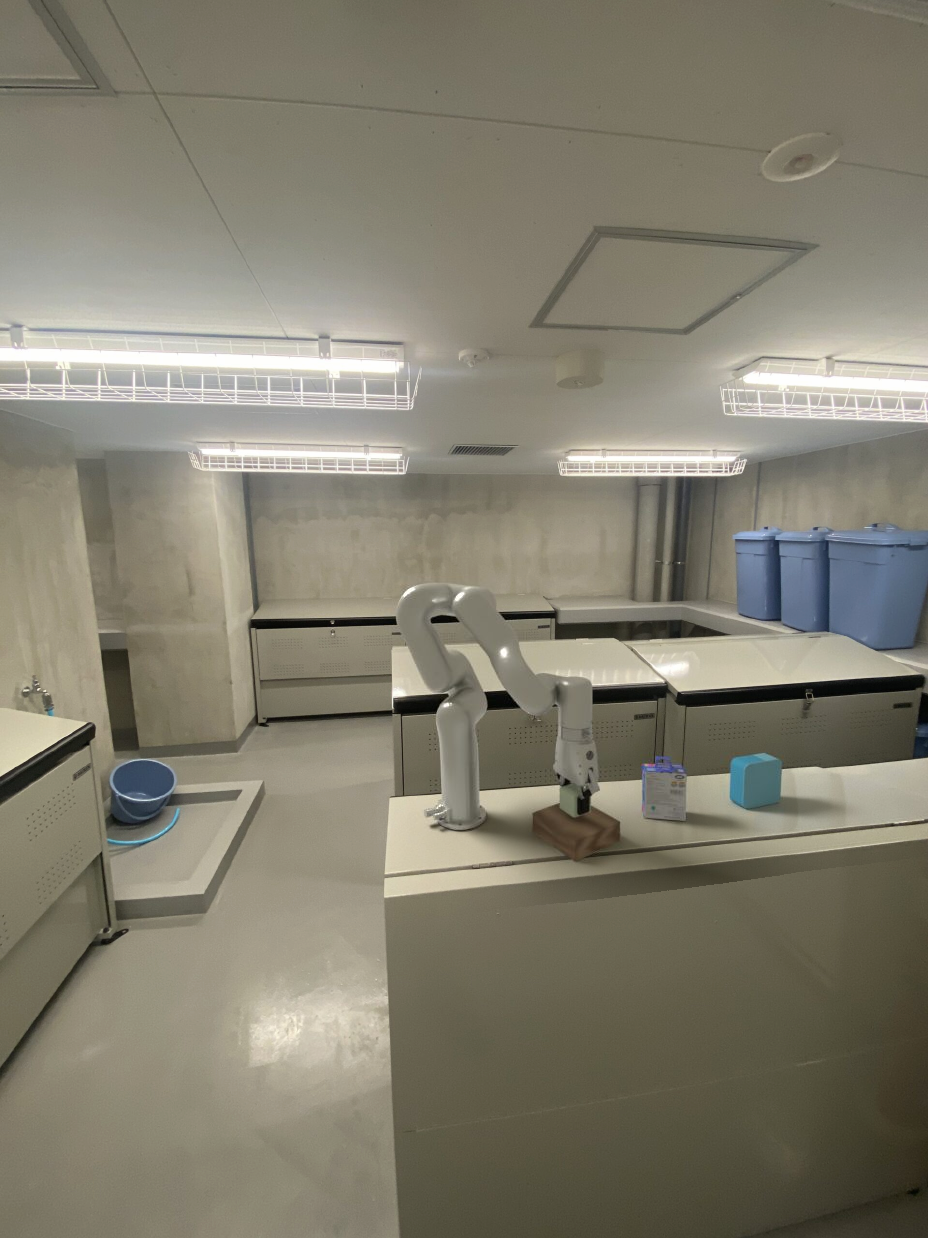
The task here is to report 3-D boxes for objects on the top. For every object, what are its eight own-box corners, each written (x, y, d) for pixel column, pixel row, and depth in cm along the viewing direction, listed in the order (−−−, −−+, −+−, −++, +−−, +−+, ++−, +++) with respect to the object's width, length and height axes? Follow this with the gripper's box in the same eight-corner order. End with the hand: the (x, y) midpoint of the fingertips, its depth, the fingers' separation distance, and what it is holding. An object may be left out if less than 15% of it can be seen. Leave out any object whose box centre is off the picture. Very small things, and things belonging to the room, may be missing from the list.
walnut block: (574, 863, 101) (574, 841, 100) (532, 832, 113) (532, 813, 112) (619, 842, 108) (620, 821, 107) (575, 815, 120) (575, 796, 119)
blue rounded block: (765, 795, 127) (767, 752, 126) (780, 803, 123) (782, 758, 121) (728, 802, 124) (730, 757, 122) (743, 810, 119) (744, 764, 118)
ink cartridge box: (681, 810, 120) (682, 755, 119) (687, 822, 115) (688, 764, 113) (640, 807, 122) (641, 753, 121) (644, 818, 117) (645, 762, 115)
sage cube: (574, 817, 106) (574, 796, 106) (559, 808, 111) (559, 787, 110) (590, 811, 109) (591, 791, 108) (576, 802, 113) (576, 782, 112)
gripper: (615, 740, 102) (614, 820, 104) (563, 718, 117) (563, 789, 119) (588, 747, 98) (588, 830, 100) (538, 724, 113) (539, 796, 115)
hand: (575, 807), depth 110 cm, fingers closed on sage cube, 4 cm apart
